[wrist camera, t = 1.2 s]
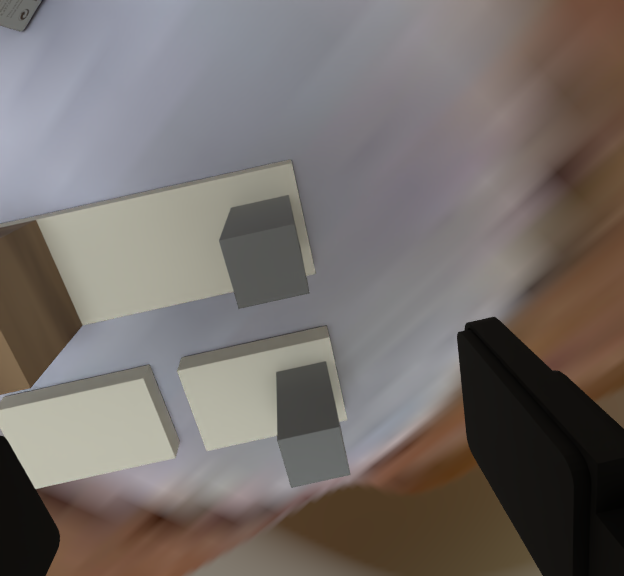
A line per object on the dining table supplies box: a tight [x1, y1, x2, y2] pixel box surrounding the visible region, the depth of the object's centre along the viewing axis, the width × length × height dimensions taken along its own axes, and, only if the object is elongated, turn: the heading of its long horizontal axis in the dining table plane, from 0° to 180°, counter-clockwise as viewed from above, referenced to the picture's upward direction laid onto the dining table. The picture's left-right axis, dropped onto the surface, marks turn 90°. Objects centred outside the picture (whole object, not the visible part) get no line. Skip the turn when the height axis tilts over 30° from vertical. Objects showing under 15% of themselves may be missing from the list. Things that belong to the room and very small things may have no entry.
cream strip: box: [0, 159, 316, 325], centre depth 22 cm, size 20×6×8 cm, turn 102°
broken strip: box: [0, 326, 350, 489], centre depth 26 cm, size 20×6×8 cm, turn 102°
